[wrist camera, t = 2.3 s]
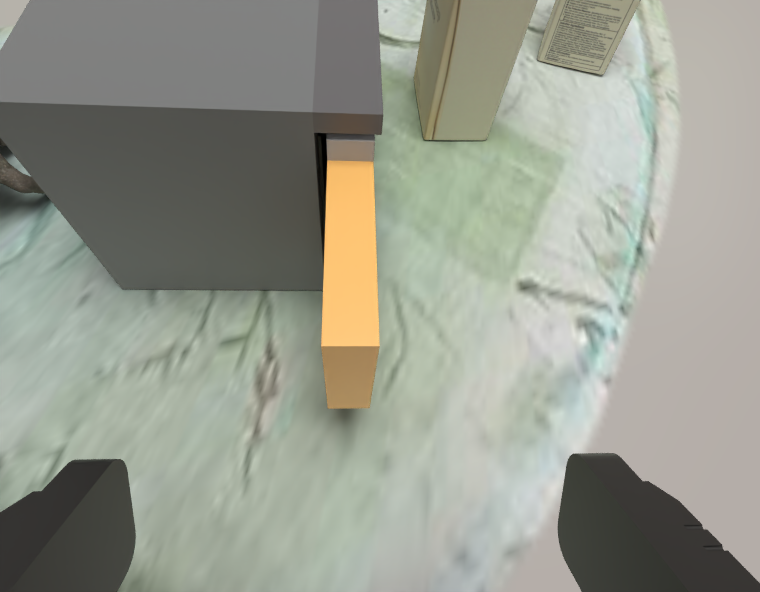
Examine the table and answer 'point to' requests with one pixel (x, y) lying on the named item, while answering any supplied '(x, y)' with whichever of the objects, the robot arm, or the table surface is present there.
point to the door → (350, 273)
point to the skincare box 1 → (466, 64)
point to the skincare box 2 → (585, 33)
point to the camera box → (191, 130)
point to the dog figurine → (16, 177)
